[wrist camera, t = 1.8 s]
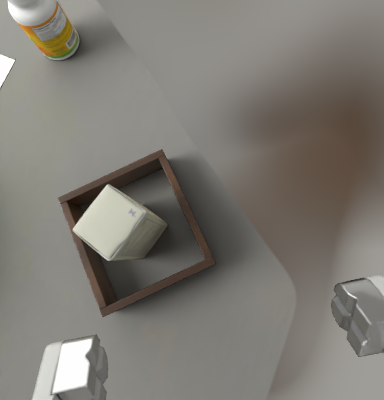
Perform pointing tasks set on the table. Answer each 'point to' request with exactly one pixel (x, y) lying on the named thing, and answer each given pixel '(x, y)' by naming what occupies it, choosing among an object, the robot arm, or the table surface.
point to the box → (119, 226)
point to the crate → (92, 258)
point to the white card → (5, 67)
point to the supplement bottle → (46, 26)
